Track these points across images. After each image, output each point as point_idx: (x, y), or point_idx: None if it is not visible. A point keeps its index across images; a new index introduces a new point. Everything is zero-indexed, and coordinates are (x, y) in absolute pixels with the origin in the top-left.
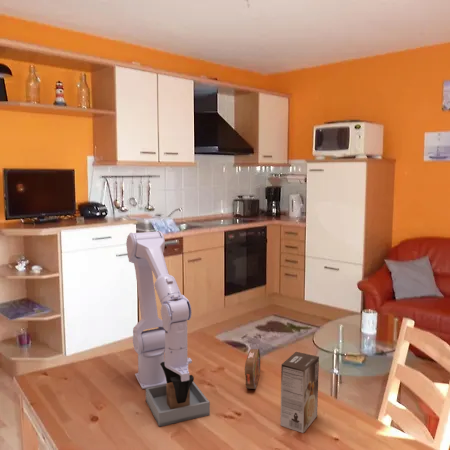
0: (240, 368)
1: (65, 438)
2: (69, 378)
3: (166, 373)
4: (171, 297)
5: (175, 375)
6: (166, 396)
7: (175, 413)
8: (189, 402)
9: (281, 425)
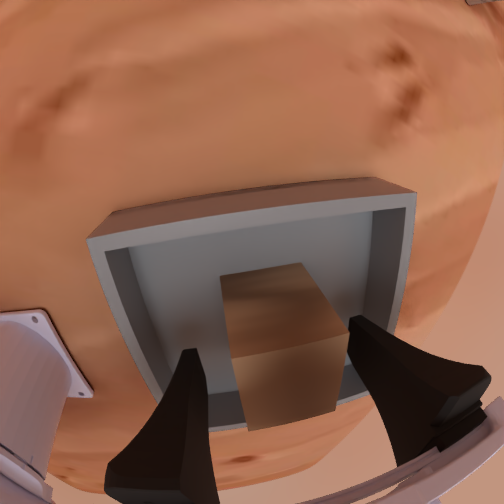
0: None
1: (295, 469)
2: (69, 466)
3: (211, 467)
4: None
5: (195, 418)
6: (174, 347)
7: None
8: (307, 272)
9: (470, 4)
